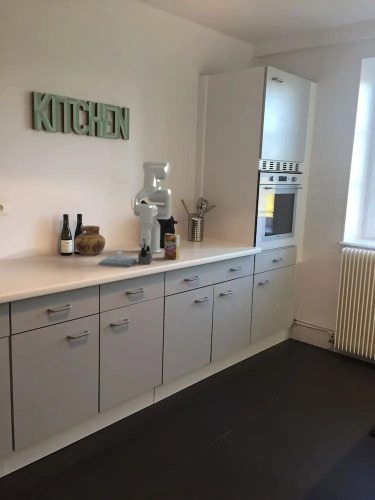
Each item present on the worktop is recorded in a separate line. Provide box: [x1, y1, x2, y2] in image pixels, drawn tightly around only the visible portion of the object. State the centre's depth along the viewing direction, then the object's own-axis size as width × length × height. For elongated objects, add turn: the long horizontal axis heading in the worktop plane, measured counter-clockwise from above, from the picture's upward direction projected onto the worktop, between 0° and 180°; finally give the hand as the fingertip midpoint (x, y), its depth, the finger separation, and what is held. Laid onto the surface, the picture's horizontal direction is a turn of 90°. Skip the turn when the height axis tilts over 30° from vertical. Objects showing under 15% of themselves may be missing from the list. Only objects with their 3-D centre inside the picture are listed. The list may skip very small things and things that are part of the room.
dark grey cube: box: [137, 250, 153, 265], centre depth 258 cm, size 7×7×7 cm
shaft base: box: [98, 251, 138, 268], centre depth 256 cm, size 20×18×6 cm
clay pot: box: [74, 225, 106, 256], centre depth 277 cm, size 19×19×20 cm
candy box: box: [163, 233, 181, 261], centre depth 273 cm, size 9×4×15 cm, turn 60°
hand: (145, 255), depth 257 cm, fingers open, 9 cm apart
